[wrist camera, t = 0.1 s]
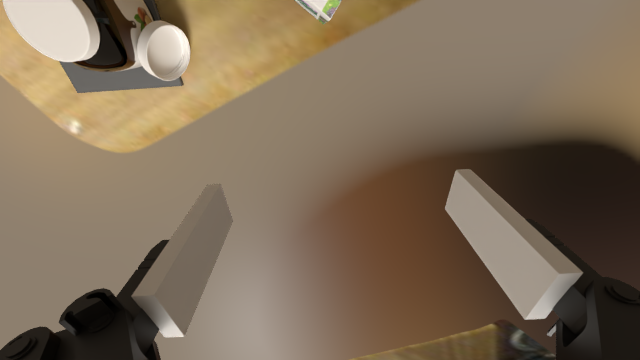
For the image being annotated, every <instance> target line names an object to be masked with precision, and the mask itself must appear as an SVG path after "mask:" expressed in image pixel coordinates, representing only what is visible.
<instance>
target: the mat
mask: <svg viewBox="0 0 640 360" xmlns="http://www.w3.org/2000/svg"><path fill="white" fill-rule="evenodd" d="M144 1H145V2H146V4H147V5H148V7H149V8H150V10H151V12H152V14H153V16H154V18H155V21H160V20H161V19H160V16H159V13H158V10H157V7H156V4H155V1H154V0H144ZM59 62H60V63H61V65H62V67H63V69H64V70H65V72H66V74H67V75H68V77H69V79H70V81H71V82H72V84H73V86H74V87H75V89H76V91H77V93H85V92H100V91H114V90H128V89H143V88H157V87H172V86H182V85H183V82H182V79H181V76H180V77H179V78H177V79H175V80H172V81H165V80H161V79H159V78H157V77H155V76H153V75H151V74H150V73H148V72H147V71H146V70H145V69H144V68H143V66H141V67H137V68H133V69H129V70H123V71H116V72H98V71H92V70H87V69H84V68H81V67H79V66H77V65H75V64H73V63H72V62H63V61H59Z"/></svg>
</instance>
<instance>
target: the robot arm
mask: <svg viewBox="0 0 640 360" xmlns="http://www.w3.org/2000/svg"><path fill="white" fill-rule="evenodd" d="M445 209H446V211H447V212H448V214H449V215H450V216H451V218H452V219H453V221H454V222H455V223H456V224H457V226H458V227H459V229H460V230H461V232H462V233H463V234H464V236H465V237H466V239H467V240H468V241H469V243H470V244H471V246H472V247H473V248H474V250H475V251H476V253H477V254H478V255H479V257H480V258H481V260H482V261H483V262H484V264H485V265H486V266H487V268H488V269H489V271H490V272H491V273H492V275H493V276H494V278H495V279H496V280H497V282H498V283H499V285H500V286H501V287H502V289H503V290H504V291H505V293H506V294H507V296H508V297H509V298H510V300H511V301H512V303H513V304H514V305H515V307H516V308H517V309H518V311H519V312H520V314H521V315H522V317H523V318H524V319H525V320H526V319H545V318H546V317H547V315H548V314H549V313H550V312H551V311H552V310H554V312H555V313H556V314H557V315H558V316H559V317H560V318H559V319H558V320H557V321H556V323H555V324H554V325H553V326H552V327H551V328H550V329H549V330H548V333H547V335H549V336H552V334H553V333H554V332H556V360H640V291H638V290H637V289H635V288H634V287H632V286H630V285H628V284H626V283H624V282H622V281H620V280H616V279H613V278H609V277H602V276H600V275H599V274H598V273H597V272H596V271H595V270H593V269H592V268H591V267H590V266H589V265H588V264H587V263H585V262H584V261H583V260H582V259H581V258H580V257H579V256H577V255H576V254H575V253H574V252H573V251H572V250H570V249H569V248H568V247H567V246H564V243H562V242H561V241H560V240H559V239H558V238H555V236H554V235H553V234H552V233H551V232H550V231H548V230H547V229H546V228H545V227H544V226H542V225H540V224H538V223H537V222H535V221H533V220H531V219H524V218H523V217H522V216H521V215H520V214H519V213H517V212H516V211H515V210H514V209H513V208H512V207H511V206H510V205H509V204H508V203H506V202H505V201H504V200H503V199H502V198H501V197H500V196H499V195H498V194H497V193H495V192H494V191H493V190H492V189H491V188H490V187H489V186H488V185H487V184H486V183H485V182H483V181H482V180H481V179H480V178H479V177H478V176H477V175H476V174H475V173H474V172H473V171H471V170H470V169H464V170H456V172H455V175H454V179H453V182H452V186H451V189H450V193H449V197H448V200H447V204H446V207H445ZM232 222H233V219H232V216H231V213H230V210H229V207H228V204H227V201H226V198H225V195H224V192H223V189H222V186H221V184H214V185H213V184H212V185H207V186H206V187H205V189H204V190H203V192H202V193H201V195H200V196H199V198H198V199H197V201H196V202H195V204H194V205H193V206H192V208H191V209H190V211H189V212H188V214H187V215H186V217H185V218H184V220H183V221H182V223H181V224H180V226H179V227H178V229H177V230H176V232H175V233H174V234H173V236H172V237H171V239H170V240H162V241H161V242H160V243H159V244H157V245H156V246H155V247H154V248H152V249H151V250H150V252H149V253H148V255H147V256H146V257H145V259H144V261H143V262H142V263H141V264H140V265H139V267H138V270H136V271H135V272H134V274H133V275H132V276H131V278H130V279H129V281H128V282H127V283H126V284H125V286H124V287H123V289H122V290H121V292H120V293H119V294H118V295H117V297H115V296H114V294H113V293H112V292H111V291H110V290H107V289H104V288H103V289H97V290H94V291H91V292H89V293H86V294H85V295H83V296H81V297H80V298H78V299H76V300H75V301H74V302H73V303H72V304H71V305H69V306H68V307H67V308H66V310H65V311H64V312H63V314H62V315H61V317H60V320H59V323H60V324H61V325H62V326H63V327H65V328H66V329H65V330H62V331H59V332H56V333H54V332H52V331H51V330H50V329H48V328H47V327H37V328H33V329H30V330H28V331H26V332H24V333H22V334H20V335H19V336H17V337H16V338H14V339H13V340H12V341H10V342H9V343H8V344H7V345H5V346H4V347H3V348H2V349H1V350H0V360H161V358H160V355H159V351H158V347H157V344H156V342H155V341H154V338H155V336H156V334H157V333H158V331H160V332H161V333H162V334H163V336H164V337H184V336H185V334H186V332H187V329H188V327H189V325H190V322H191V320H192V317H193V315H194V313H195V310H196V308H197V306H198V303H199V301H200V298H201V296H202V294H203V291H204V289H205V287H206V284H207V282H208V279H209V277H210V275H211V272H212V270H213V268H214V265H215V263H216V260H217V258H218V256H219V253H220V251H221V249H222V246H223V244H224V241H225V239H226V237H227V234H228V232H229V230H230V227H231V225H232Z"/></svg>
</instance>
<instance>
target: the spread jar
mask: <svg viewBox="0 0 640 360" xmlns="http://www.w3.org/2000/svg"><path fill="white" fill-rule="evenodd" d="M3 5H4V9H5V11H6V14H7V16H8V18H9V20H10V21H11V23H12V25H13V26H14V28H15V29H16V30H17V32H18V33H19V34H20V35H21V36H22V37H23V39H24V40H25V41H26V42H28V43H29V44H30V45H31V46H32V47H33V48H35V49H36V50H38V51H39V52H40V53H42V54H44V55H46V56H48V57H50V58H52V59H55V60H58V61H63V62H72V63H73V64H75V65H77V66H79V67H81V68H84V69H87V70H92V71H98V72H116V71H123V70H129V69H133V68H137V67H141V66H143V68H144V69H145V70H146V71H147V72H148V73H150V74H151V75H153V76H155V77H157V78H159V79H161V80H165V81H172V80H175V79H177V78H179V77H180V76H181V75H182V74H183V73H184V72H185V70H186V68H187V66H188V64H189V60H190V45H189V42H188V39H187V37H186V35H185V34H184V32H183V31H182V30H181V29H179V28H178V27H176V26H174V25H172V24H170V23H168V22H165V21H161V20H160V21H155V18H154V16H153V14H152V12H151V10H150V8H149V7H148V5H147V4H146V2H145V1H144V0H3Z"/></svg>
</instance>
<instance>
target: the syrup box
mask: <svg viewBox="0 0 640 360" xmlns="http://www.w3.org/2000/svg"><path fill="white" fill-rule="evenodd" d="M295 1H296V2H297V3H298V4H299V5H300V6H302V7H303V8H304V9H305V10H306V11H308V12H309V13H310V14H311V15H312V16H314V17H315V18H316V19H317V20H319V21H320V22H321V23H322V24H325V23H326V22H328V21H329V20H331V18H332V16H333V14H334V13H335V11H336V9H337V7H338V6H339V4H340V2H341V1H342V0H295Z"/></svg>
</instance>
